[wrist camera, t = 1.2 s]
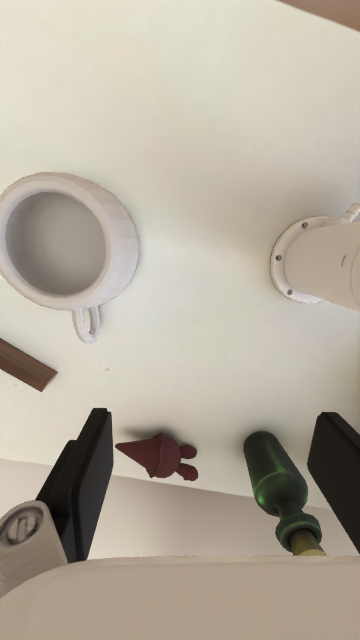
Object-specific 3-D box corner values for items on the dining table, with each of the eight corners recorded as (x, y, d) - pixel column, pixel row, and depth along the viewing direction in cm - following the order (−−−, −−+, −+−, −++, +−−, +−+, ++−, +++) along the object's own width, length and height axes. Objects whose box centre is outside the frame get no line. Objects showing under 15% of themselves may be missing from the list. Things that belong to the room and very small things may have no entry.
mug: (11, 191, 34) (-53, 168, 24) (131, 176, 34) (114, 147, 24) (51, 337, 40) (12, 364, 30) (154, 324, 40) (147, 348, 30)
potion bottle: (230, 450, 47) (262, 568, 29) (256, 419, 45) (308, 526, 28) (263, 469, 48) (313, 592, 31) (290, 439, 46) (360, 553, 29)
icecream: (104, 479, 40) (190, 495, 43) (116, 454, 36) (208, 474, 39) (114, 439, 46) (188, 455, 49) (125, 414, 42) (204, 434, 45)
